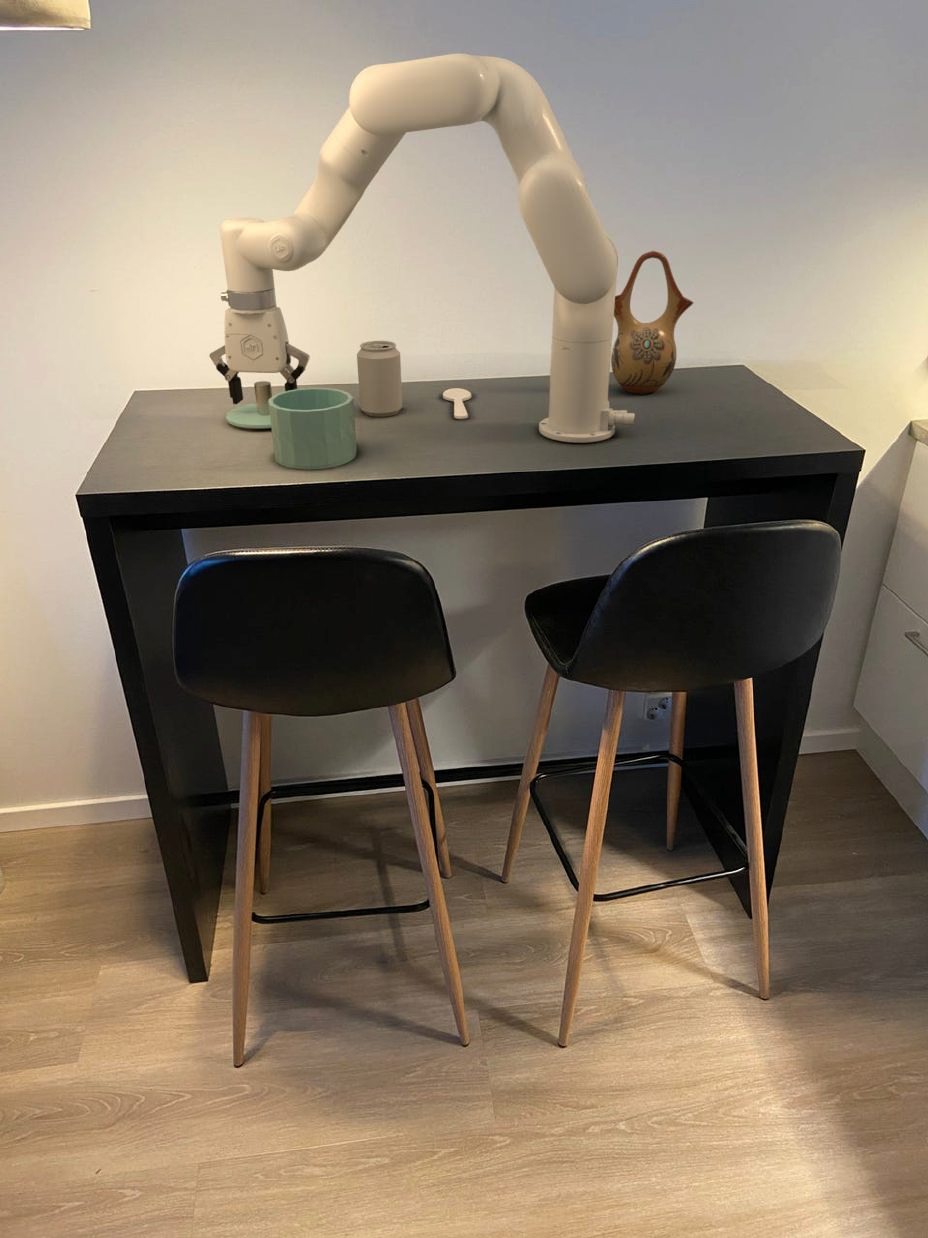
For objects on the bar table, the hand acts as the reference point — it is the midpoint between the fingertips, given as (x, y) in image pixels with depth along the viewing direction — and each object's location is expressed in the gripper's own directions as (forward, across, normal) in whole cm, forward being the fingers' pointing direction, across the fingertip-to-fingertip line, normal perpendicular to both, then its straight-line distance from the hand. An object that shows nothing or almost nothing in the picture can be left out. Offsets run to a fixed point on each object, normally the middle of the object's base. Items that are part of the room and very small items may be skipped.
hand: (264, 402), depth 158 cm
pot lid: (+2, 0, 0) cm, 2 cm away
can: (+3, +19, +7) cm, 20 cm away
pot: (+3, +14, -17) cm, 22 cm away
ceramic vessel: (+3, +65, +26) cm, 70 cm away
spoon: (+3, +32, +13) cm, 35 cm away
